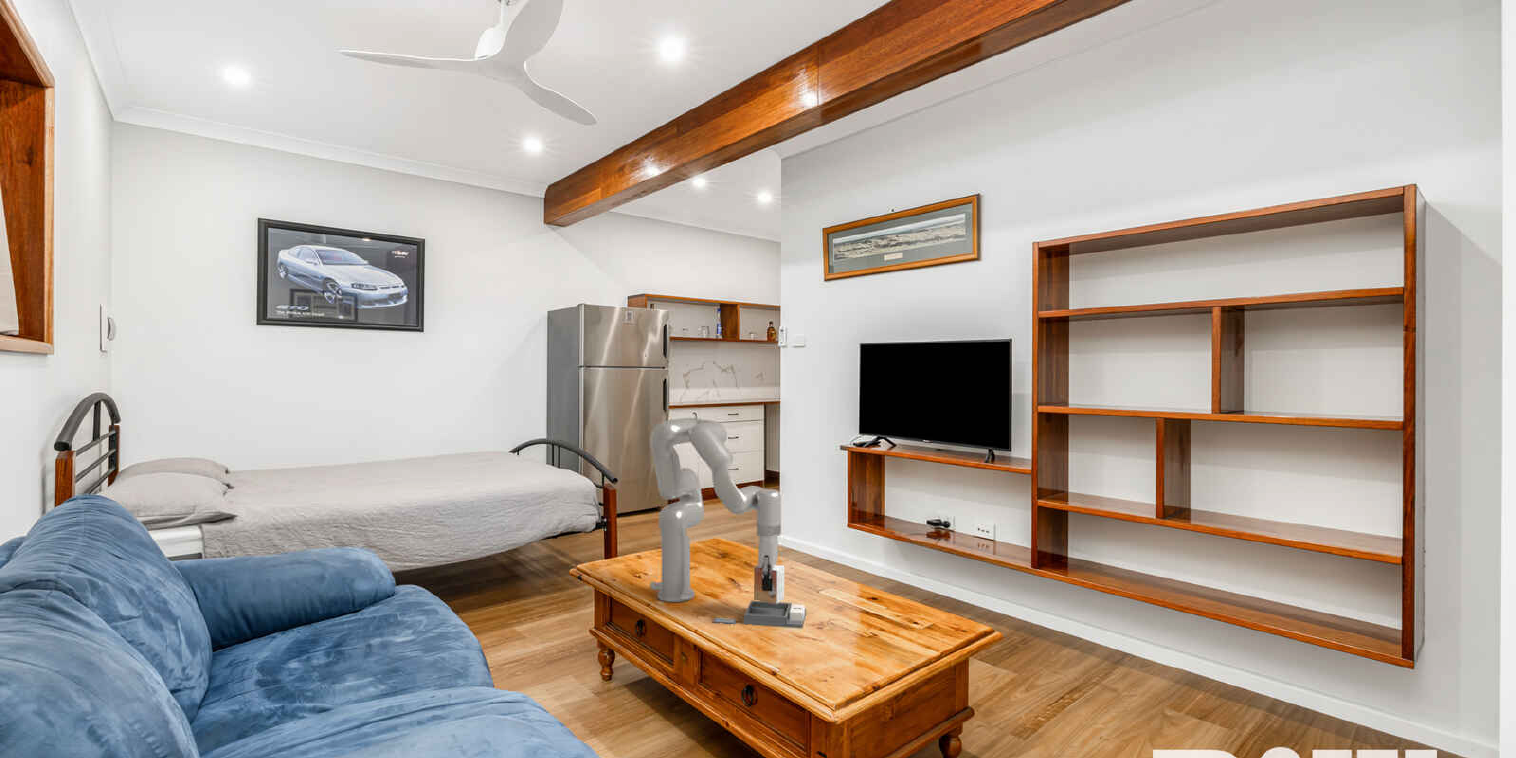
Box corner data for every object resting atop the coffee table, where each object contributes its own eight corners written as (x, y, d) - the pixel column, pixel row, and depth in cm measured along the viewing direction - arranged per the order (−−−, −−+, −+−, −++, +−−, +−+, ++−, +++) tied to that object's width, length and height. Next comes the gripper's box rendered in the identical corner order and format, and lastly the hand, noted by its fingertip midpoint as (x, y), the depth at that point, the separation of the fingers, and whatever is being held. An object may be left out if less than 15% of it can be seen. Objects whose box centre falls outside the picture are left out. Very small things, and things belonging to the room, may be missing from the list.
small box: (753, 600, 210) (753, 566, 210) (761, 594, 215) (761, 561, 215) (776, 604, 206) (776, 570, 206) (784, 598, 211) (784, 565, 211)
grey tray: (743, 624, 206) (743, 612, 205) (750, 608, 218) (750, 597, 218) (802, 628, 203) (802, 616, 202) (806, 612, 215) (806, 601, 215)
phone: (712, 624, 207) (712, 621, 207) (715, 620, 210) (715, 617, 210) (734, 626, 205) (734, 623, 205) (737, 622, 208) (737, 619, 208)
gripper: (761, 522, 219) (761, 577, 220) (752, 536, 202) (752, 595, 203) (784, 523, 218) (784, 578, 218) (777, 537, 201) (777, 596, 201)
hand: (769, 586), depth 210 cm, fingers closed on small box, 6 cm apart
